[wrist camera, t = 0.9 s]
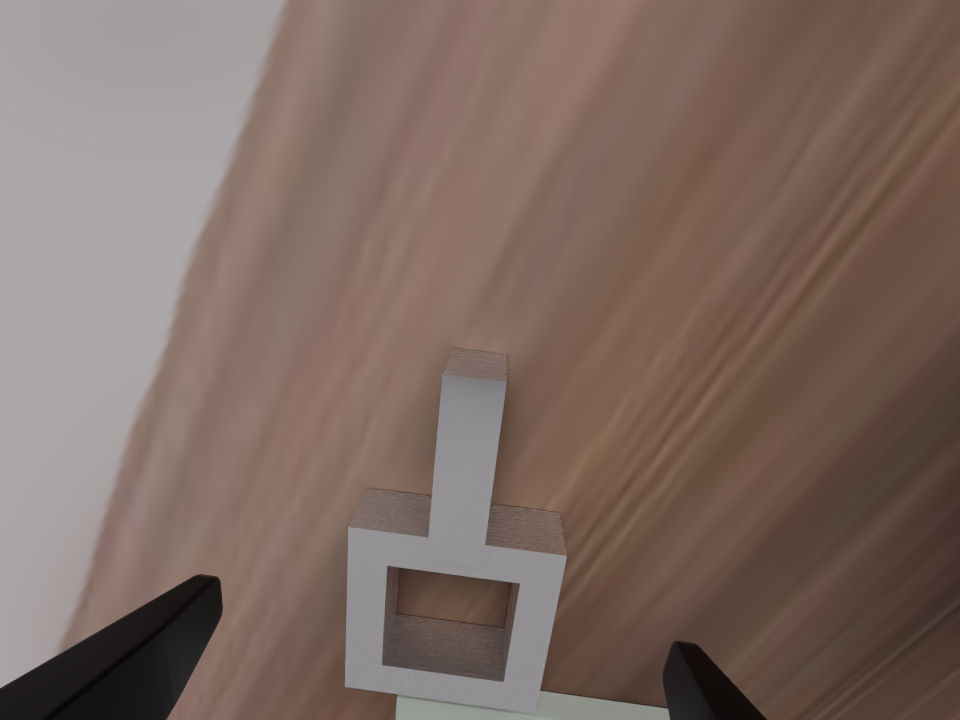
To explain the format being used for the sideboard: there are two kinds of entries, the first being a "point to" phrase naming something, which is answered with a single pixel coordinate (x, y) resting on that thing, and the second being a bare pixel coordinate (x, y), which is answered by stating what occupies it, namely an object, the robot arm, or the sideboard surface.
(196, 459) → the sideboard surface
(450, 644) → the steel link
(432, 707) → the keeper board
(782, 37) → the sideboard surface
